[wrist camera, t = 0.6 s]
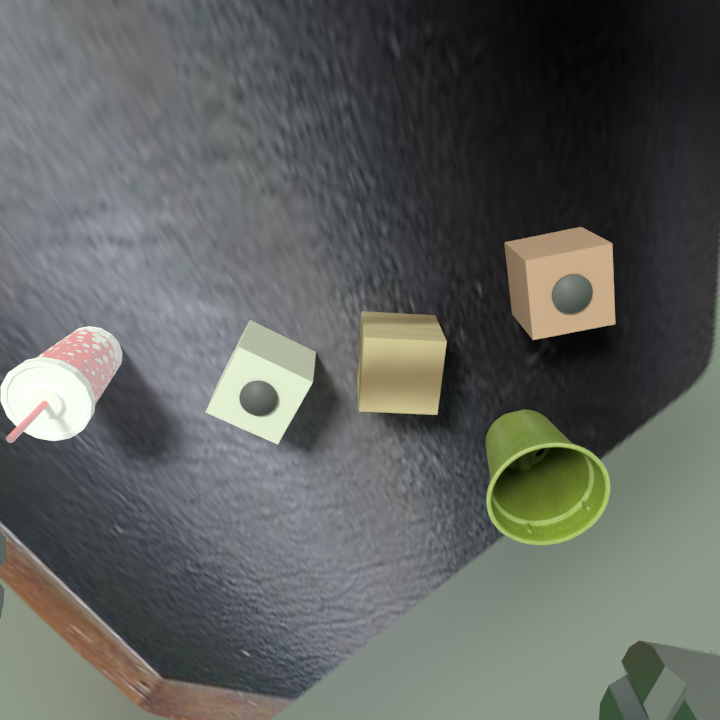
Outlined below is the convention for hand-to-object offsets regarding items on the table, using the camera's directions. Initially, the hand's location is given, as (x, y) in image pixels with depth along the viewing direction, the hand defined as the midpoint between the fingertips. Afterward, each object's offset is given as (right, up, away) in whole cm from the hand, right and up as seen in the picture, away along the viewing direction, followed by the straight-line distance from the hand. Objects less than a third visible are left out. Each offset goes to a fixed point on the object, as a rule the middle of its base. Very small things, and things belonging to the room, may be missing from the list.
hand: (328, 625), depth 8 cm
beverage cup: (-21, +4, +43) cm, 48 cm away
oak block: (+3, +4, +43) cm, 44 cm away
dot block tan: (+15, +10, +41) cm, 45 cm away
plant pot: (+15, -4, +47) cm, 50 cm away
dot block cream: (-7, +3, +44) cm, 44 cm away
